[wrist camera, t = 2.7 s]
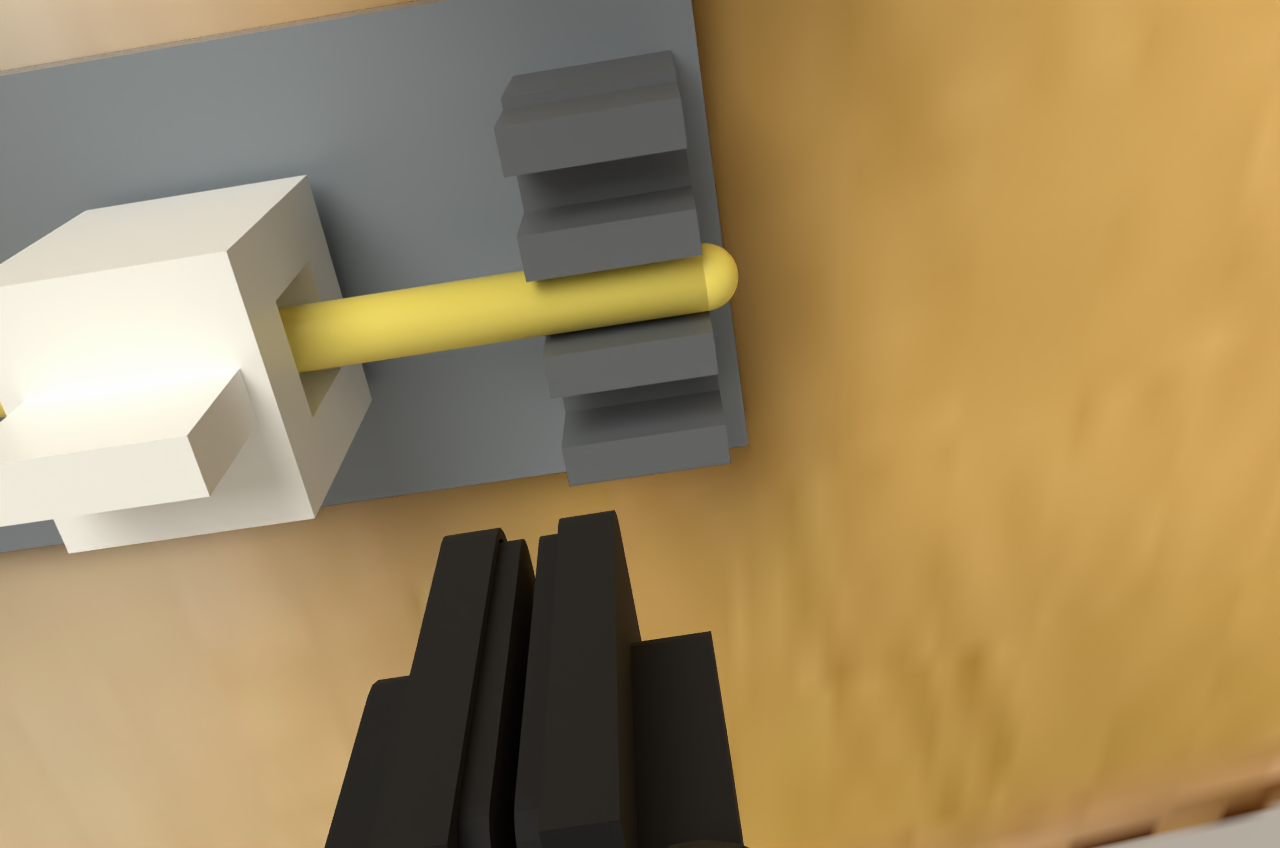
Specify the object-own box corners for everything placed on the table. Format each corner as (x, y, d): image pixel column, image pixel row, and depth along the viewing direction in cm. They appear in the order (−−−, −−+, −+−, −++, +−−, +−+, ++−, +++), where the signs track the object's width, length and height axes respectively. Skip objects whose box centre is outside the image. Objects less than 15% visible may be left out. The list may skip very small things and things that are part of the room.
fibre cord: (731, 229, 20) (737, 250, 19) (738, 292, 21) (745, 315, 20) (-457, 413, 22) (-513, 442, 20) (-421, 467, 22) (-474, 499, 21)
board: (683, -45, 21) (697, -22, 17) (743, 421, 26) (767, 537, 21) (-580, 169, 23) (-873, 242, 18) (-320, 575, 27) (-506, 713, 23)
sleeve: (307, 175, 21) (168, 305, 15) (372, 400, 24) (275, 600, 17) (85, 210, 22) (-144, 354, 15) (169, 430, 24) (-1, 637, 17)
